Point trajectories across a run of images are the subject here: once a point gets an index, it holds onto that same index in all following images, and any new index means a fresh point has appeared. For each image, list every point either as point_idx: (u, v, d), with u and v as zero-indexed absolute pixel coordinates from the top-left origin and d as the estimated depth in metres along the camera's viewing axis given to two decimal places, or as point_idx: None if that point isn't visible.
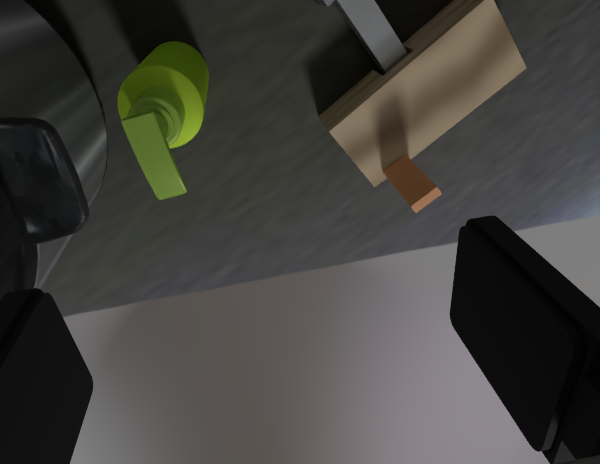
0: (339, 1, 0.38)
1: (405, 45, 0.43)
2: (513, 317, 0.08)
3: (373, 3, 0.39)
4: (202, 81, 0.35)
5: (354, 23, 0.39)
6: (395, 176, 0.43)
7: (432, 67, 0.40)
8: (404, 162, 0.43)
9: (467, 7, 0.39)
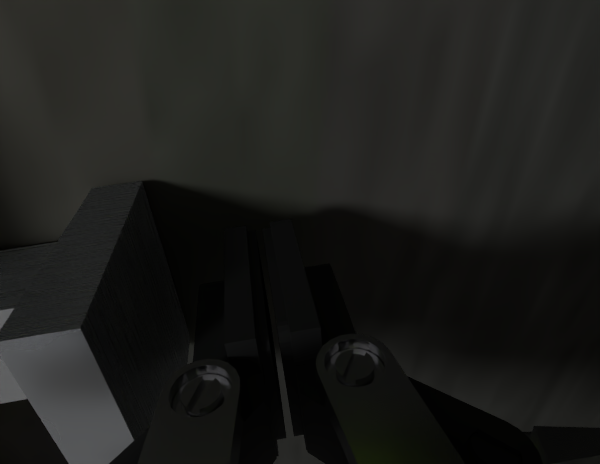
0: None
1: None
2: None
3: None
4: None
5: None
6: None
7: None
8: None
9: None
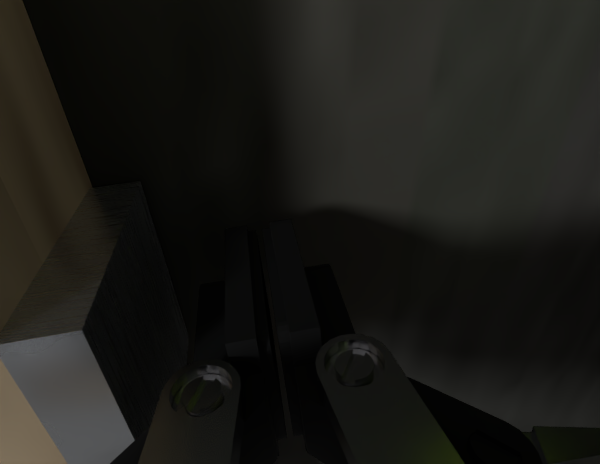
0: None
1: None
2: None
3: None
4: None
5: None
6: None
7: None
8: None
9: None
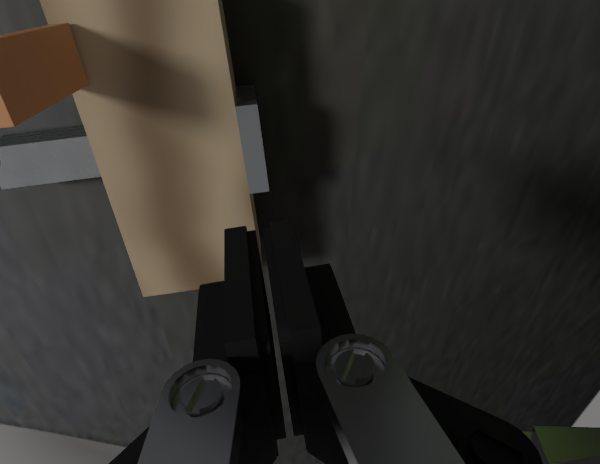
0: None
1: None
2: None
3: None
4: None
5: None
6: (54, 43, 0.19)
7: (218, 187, 0.25)
8: (75, 76, 0.20)
9: (259, 248, 0.30)
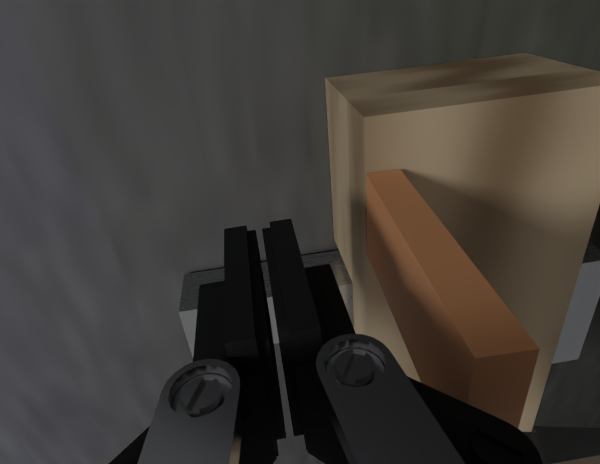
0: None
1: None
2: None
3: None
4: None
5: None
6: None
7: None
8: None
9: None
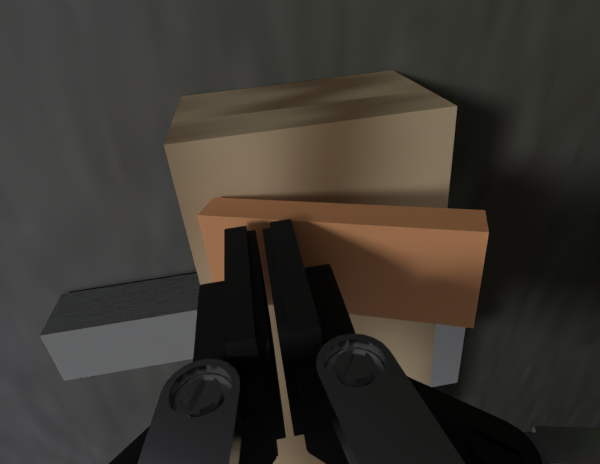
0: None
1: None
2: None
3: None
4: None
5: None
6: None
7: None
8: None
9: None
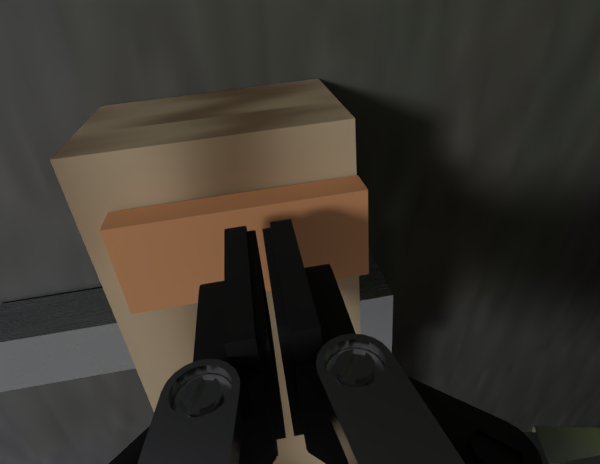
0: None
1: None
2: None
3: None
4: None
5: None
6: None
7: None
8: None
9: None
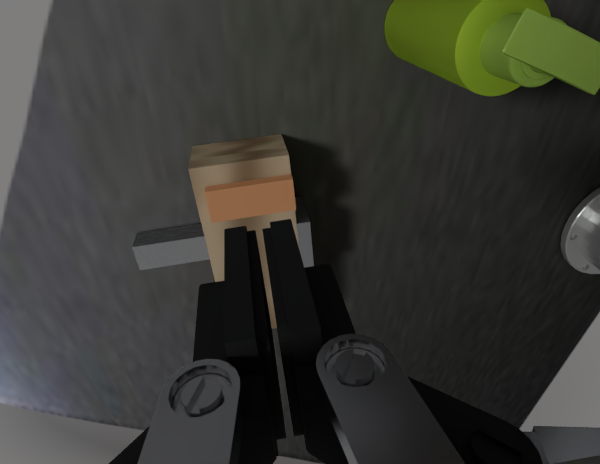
0: None
1: None
2: None
3: None
4: None
5: None
6: None
7: None
8: None
9: None
